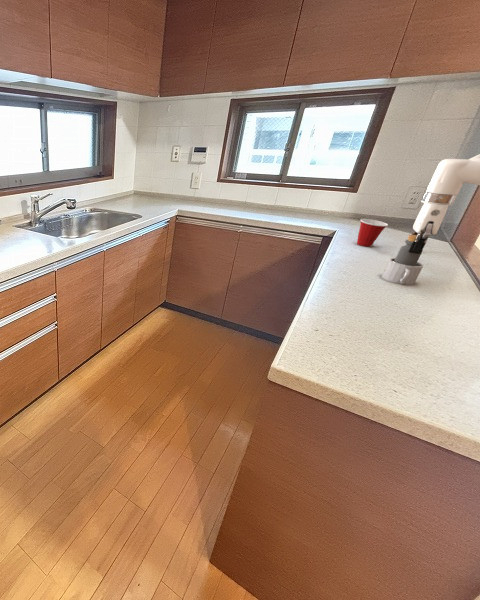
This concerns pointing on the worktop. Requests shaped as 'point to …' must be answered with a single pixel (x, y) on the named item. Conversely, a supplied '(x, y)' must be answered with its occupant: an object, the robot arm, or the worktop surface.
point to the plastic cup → (369, 231)
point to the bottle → (407, 253)
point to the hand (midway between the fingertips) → (412, 250)
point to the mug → (401, 272)
